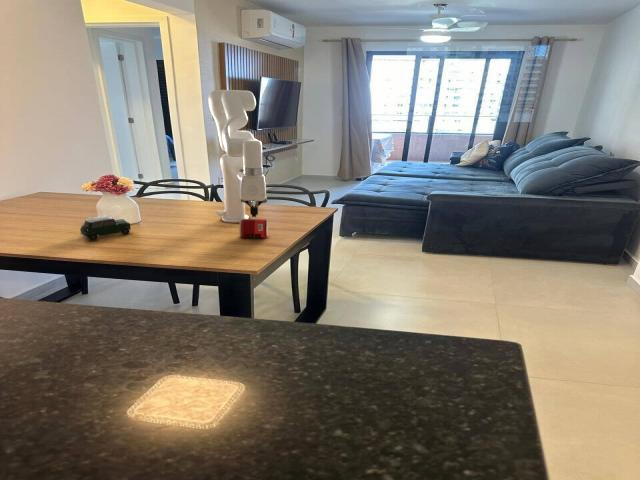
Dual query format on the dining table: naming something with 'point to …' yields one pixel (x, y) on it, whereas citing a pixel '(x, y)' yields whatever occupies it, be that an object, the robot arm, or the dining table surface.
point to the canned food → (253, 228)
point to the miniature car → (103, 227)
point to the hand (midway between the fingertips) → (254, 216)
